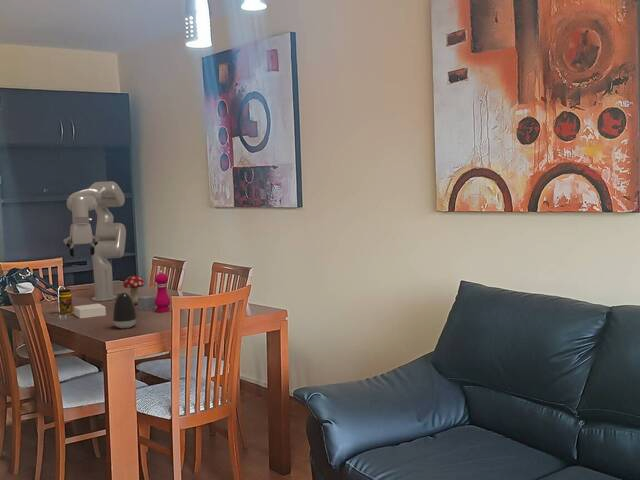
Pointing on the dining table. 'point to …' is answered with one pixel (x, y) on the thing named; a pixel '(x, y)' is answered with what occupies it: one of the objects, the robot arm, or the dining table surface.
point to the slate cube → (146, 303)
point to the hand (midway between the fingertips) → (82, 255)
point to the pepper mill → (161, 293)
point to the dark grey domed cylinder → (124, 311)
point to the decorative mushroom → (134, 286)
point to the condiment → (65, 302)
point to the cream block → (89, 310)
